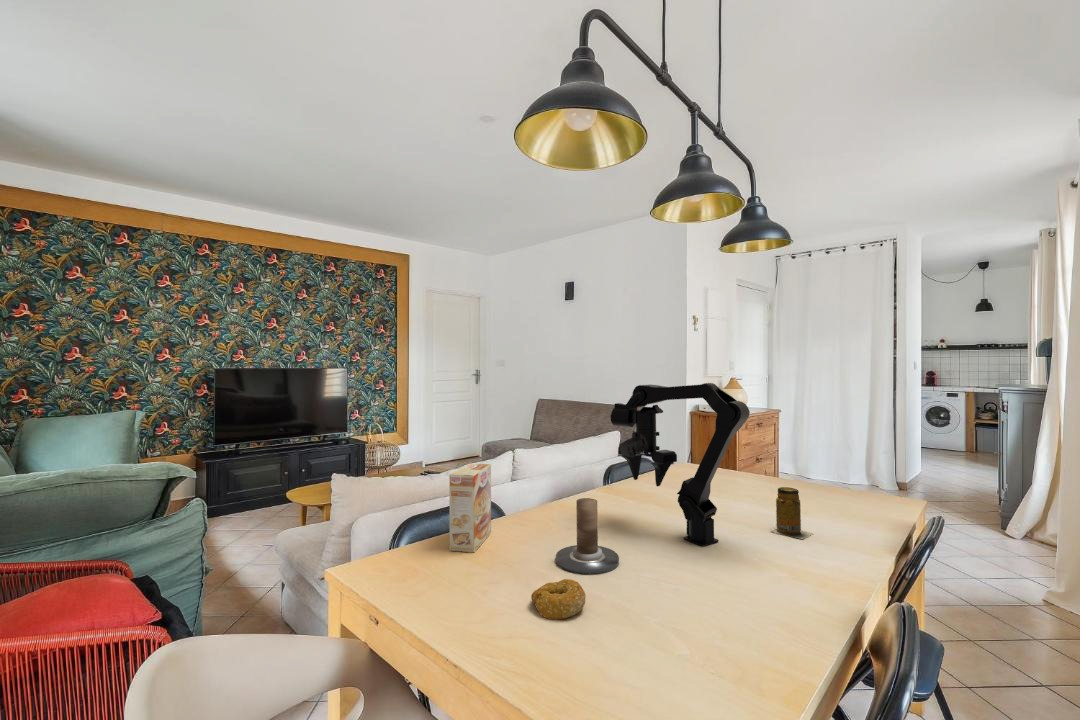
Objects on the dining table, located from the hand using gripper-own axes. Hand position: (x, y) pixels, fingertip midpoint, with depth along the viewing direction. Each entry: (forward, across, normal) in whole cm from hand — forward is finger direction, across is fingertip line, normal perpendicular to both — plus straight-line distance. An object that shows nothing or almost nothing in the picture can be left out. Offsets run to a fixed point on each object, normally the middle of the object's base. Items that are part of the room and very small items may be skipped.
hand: (646, 482), depth 140 cm
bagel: (+13, +25, -46) cm, 54 cm away
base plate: (+13, +10, -28) cm, 33 cm away
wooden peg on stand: (+12, +10, -28) cm, 32 cm away
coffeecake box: (+13, -17, -47) cm, 52 cm away
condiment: (+13, +24, +31) cm, 41 cm away
